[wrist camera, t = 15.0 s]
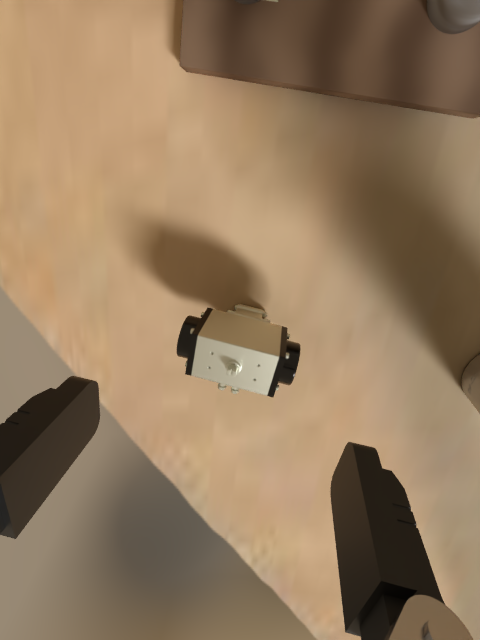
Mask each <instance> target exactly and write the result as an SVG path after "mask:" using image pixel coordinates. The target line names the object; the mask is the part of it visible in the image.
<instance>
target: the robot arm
mask: <svg viewBox="0 0 480 640" xmlns="http://www.w3.org/2000/svg"><path fill="white" fill-rule="evenodd" d="M461 383H462V389H463V391H464V393H465V395H466V396H467V397H468V399H469V400H470V401H471V403H472V404H473V405H474V407H475V408H476V409H477V411H478V412H479V413H480V354H479V355H478V356H476V357H475V358H474V359H473V360H472V361H471V362H470V363H469V364H468V366H467V367H466V368H465V370H464V373H463V375H462V381H461ZM99 420H100V408H99V388H98V383H97V382H96V381H93V380H89V379H84V378H80V377H76V376H71V377H69V378H68V379H67V380H66V381H65V382H63V383H62V384H61V385H60V386H59V387H58V388H57V389H52V388H50V389H48V390H46V391H43V392H42V393H39V394H37V395H35V396H33V397H32V398H30V399H29V400H28V401H27V402H26V403H25V404H24V405H22V406H21V407H20V408H19V409H18V411H17V412H15V413H13V414H12V415H11V416H10V417H9V418H8V419H6V421H5V423H2V424H1V425H0V535H3V536H7V537H11V538H14V539H16V538H17V537H18V535H19V534H20V533H21V531H22V530H23V529H24V527H25V526H26V525H27V523H28V522H29V520H30V519H31V518H32V517H33V515H34V514H35V512H36V511H37V510H38V509H39V507H40V506H41V505H42V503H43V502H44V501H45V499H46V498H47V497H48V495H49V494H50V493H51V491H52V490H53V489H54V487H55V486H56V485H57V483H58V482H59V481H60V479H61V478H62V477H63V475H64V474H65V473H66V471H67V470H68V469H69V467H70V466H71V465H72V463H73V462H74V461H75V459H76V458H77V457H78V455H79V454H80V453H81V452H82V450H83V449H84V448H85V446H86V445H87V444H88V442H89V441H90V440H91V438H92V437H93V435H94V434H95V432H96V430H97V427H98V424H99ZM331 504H332V513H333V522H334V532H335V541H336V550H337V559H338V568H339V578H340V587H341V596H342V605H343V614H344V623H345V632H346V633H350V634H354V635H357V636H361V640H473V638H472V636H471V634H470V633H469V631H468V629H467V628H466V627H465V625H464V624H463V622H462V621H461V620H460V619H459V618H458V616H457V615H456V614H455V613H454V612H453V611H452V610H451V609H449V608H448V607H447V606H446V605H445V603H444V601H443V599H442V597H441V594H440V591H439V588H438V586H437V583H436V580H435V577H434V574H433V571H432V568H431V565H430V562H429V559H428V556H427V553H426V550H425V548H424V545H423V542H422V539H421V536H420V533H419V530H418V528H416V521H415V518H414V515H413V512H411V507H410V504H409V501H408V498H407V495H406V492H405V489H404V487H403V486H402V485H401V483H400V482H399V480H398V479H397V478H396V476H395V475H394V473H393V472H392V471H390V470H386V469H382V466H381V463H380V459H379V456H378V453H377V450H376V449H375V448H373V447H369V446H364V445H360V444H356V443H352V442H348V443H347V445H346V446H345V449H344V451H343V453H342V456H341V458H340V460H339V462H338V465H337V467H336V469H335V472H334V474H333V477H332V481H331Z"/></svg>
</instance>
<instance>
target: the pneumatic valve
mask: <svg viewBox="0 0 480 640" xmlns="http://www.w3.org/2000/svg"><path fill="white" fill-rule="evenodd" d="M235 310H236V312H235V311H231V310H227V312H223V311H220V310H216V309H212V308H207V310H206V311H205V312H202V313H201V317H202V318H198V317H194V316H190V315H189V316H188V317H187V318H186V319H185V321H184V323H183V325H182V328H181V331H180V334H179V338H178V343H177V355H178V356H179V357H183V358H187V359H188V360H187V361H186V364H185V366H186V373H185V374H187V375H191V376H194V377H198V378H202V379H206V380H209V381H213V382H217V383H219V384H218V388H219V389H220V390H225V389H226V385H228V386H232V388H231V392H232V393H234V394H237V393H238V392H239V389H243V390H247V391H251V392H255V393H258V394H262V395H266V396H270V397H274V393H275V390H277V391H278V388H279V385H277V384H278V383H282V384H286V385H291V383H292V381H293V379H294V376H295V373H296V370H297V366H298V361H299V356H300V344H299V343H295V342H292V341H288V340H287V339H289V337H290V334H288V333H287V328H286V327H283V326H279V325H275V324H271V323H270V320H267V319H263V318H262V317H265V316H267V313H266V312H264V310H262V309H258V308H254V307H250V306H246V305H242V304H238V305H235Z"/></svg>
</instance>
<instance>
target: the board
mask: <svg viewBox="0 0 480 640" xmlns="http://www.w3.org/2000/svg"><path fill="white" fill-rule="evenodd" d="M180 66H181V67H182V68H183V69H184V70H185V71H186V72H191V73H197V74H203V75H210V76H216V77H222V78H228V79H234V80H240V81H246V82H253V83H259V84H265V85H271V86H277V87H283V88H289V89H296V90H302V91H308V92H314V93H320V94H326V95H332V96H338V97H345V98H351V99H357V100H363V101H369V102H375V103H381V104H388V105H394V106H400V107H406V108H412V109H418V110H424V111H431V112H437V113H443V114H449V115H455V116H461V117H467V118H476V117H480V0H278V2H274V1H267V0H183V16H182V33H181V50H180Z"/></svg>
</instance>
